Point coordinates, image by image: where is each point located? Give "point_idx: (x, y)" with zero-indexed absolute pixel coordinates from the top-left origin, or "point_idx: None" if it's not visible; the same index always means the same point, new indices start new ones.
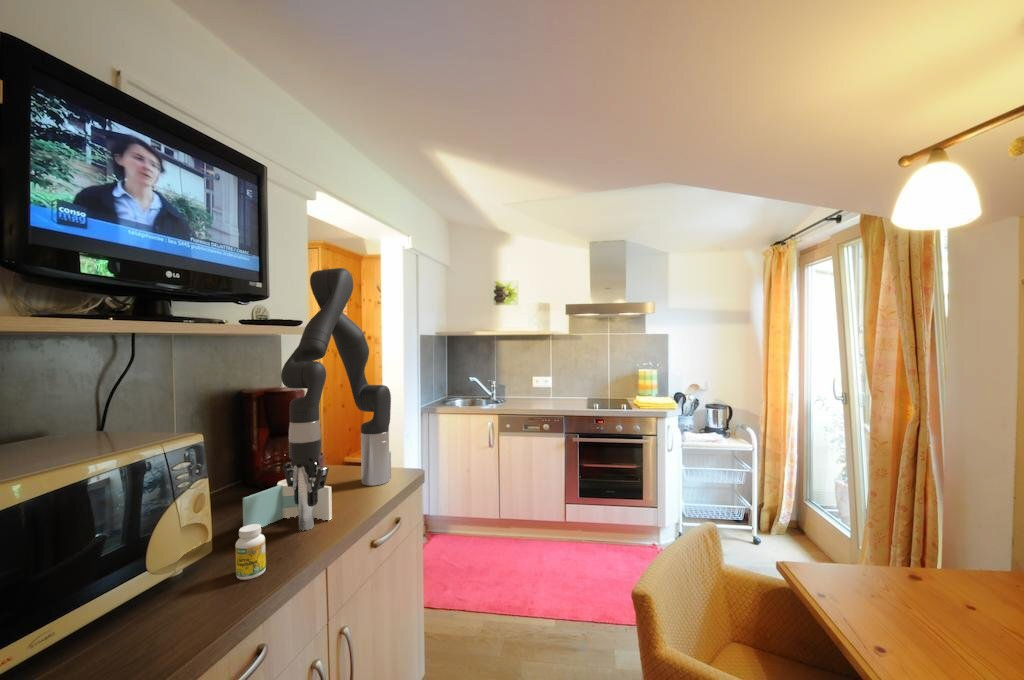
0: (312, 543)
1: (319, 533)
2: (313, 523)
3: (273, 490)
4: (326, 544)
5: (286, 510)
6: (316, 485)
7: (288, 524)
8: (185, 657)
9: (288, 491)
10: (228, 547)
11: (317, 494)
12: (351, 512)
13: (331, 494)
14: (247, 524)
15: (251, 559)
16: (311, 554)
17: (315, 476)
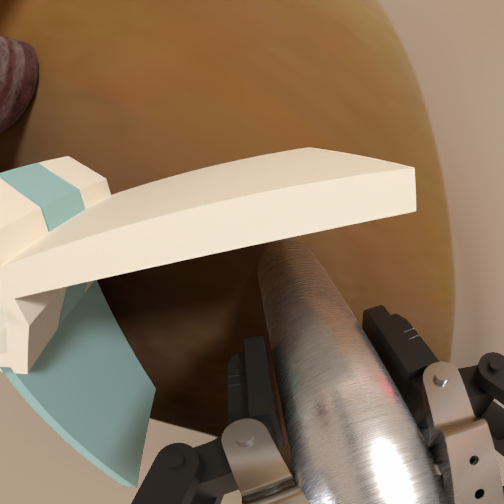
0: (406, 312)
1: (376, 264)
2: (314, 255)
3: (55, 409)
4: (443, 291)
5: (92, 282)
6: (488, 419)
7: (176, 289)
8: None
9: (46, 333)
10: (212, 426)
11: (429, 349)
12: (306, 37)
13: (371, 158)
14: (148, 407)
15: None
16: (438, 336)
17: (469, 459)
